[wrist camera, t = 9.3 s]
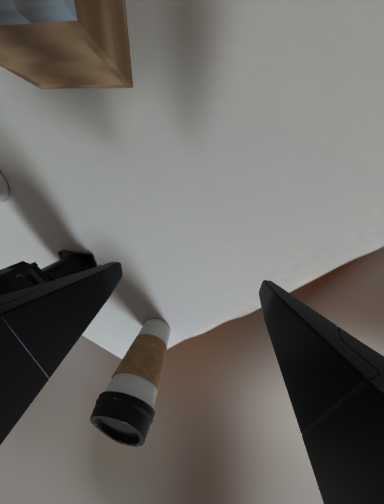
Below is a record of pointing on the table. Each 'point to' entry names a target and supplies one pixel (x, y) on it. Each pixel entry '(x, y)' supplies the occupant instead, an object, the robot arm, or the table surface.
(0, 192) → the beer glass
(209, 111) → the table surface
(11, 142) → the table surface
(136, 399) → the coffee cup
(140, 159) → the table surface
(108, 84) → the box
